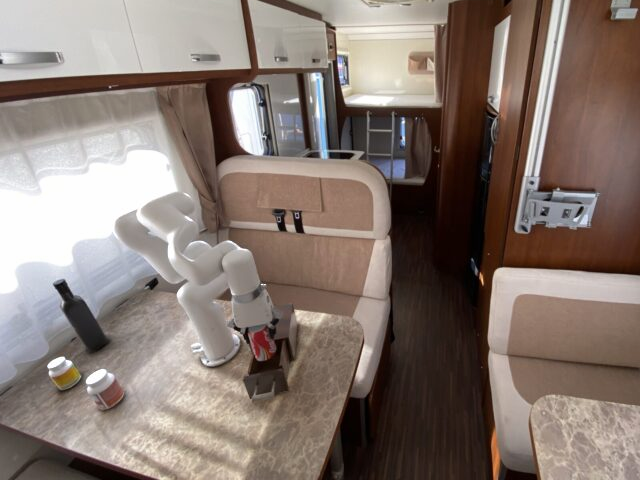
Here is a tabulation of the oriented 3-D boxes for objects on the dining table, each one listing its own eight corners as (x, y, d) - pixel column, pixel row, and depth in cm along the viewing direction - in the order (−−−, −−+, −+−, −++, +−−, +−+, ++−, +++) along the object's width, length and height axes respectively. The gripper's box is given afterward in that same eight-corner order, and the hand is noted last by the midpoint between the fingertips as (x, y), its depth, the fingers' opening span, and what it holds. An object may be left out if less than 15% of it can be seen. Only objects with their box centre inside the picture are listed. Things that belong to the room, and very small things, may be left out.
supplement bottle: (84, 378, 101) (71, 358, 97) (63, 393, 96) (48, 372, 93) (76, 372, 103) (63, 352, 99) (56, 386, 99) (41, 366, 95)
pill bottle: (127, 386, 97) (112, 363, 93) (121, 404, 92) (106, 380, 88) (103, 395, 95) (87, 372, 90) (95, 414, 90) (78, 390, 85)
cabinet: (294, 359, 103) (288, 337, 99) (255, 367, 101) (248, 344, 97) (297, 323, 117) (292, 303, 113) (263, 330, 115) (257, 309, 111)
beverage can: (269, 364, 90) (261, 335, 85) (251, 361, 91) (241, 332, 86) (280, 346, 95) (272, 318, 91) (262, 343, 97) (254, 315, 92)
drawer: (287, 407, 88) (281, 387, 84) (246, 416, 86) (238, 396, 82) (292, 350, 105) (288, 332, 102) (258, 357, 103) (253, 338, 100)
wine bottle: (90, 354, 110) (49, 289, 98) (85, 347, 112) (44, 284, 100) (109, 342, 114) (72, 279, 102) (104, 336, 117) (67, 274, 105)
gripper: (281, 277, 88) (292, 322, 95) (218, 287, 85) (234, 333, 93) (277, 294, 81) (289, 342, 88) (209, 306, 79) (227, 354, 86)
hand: (261, 337), depth 90 cm, fingers closed on beverage can, 6 cm apart
